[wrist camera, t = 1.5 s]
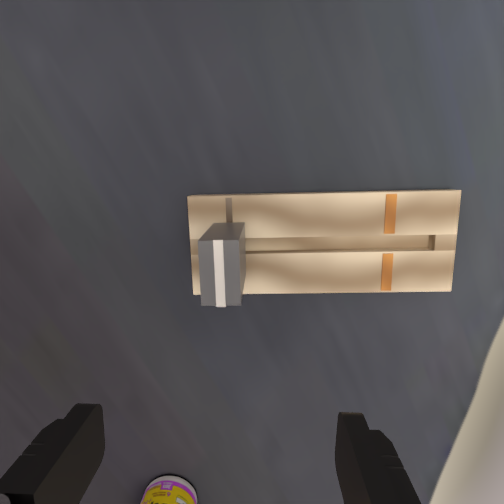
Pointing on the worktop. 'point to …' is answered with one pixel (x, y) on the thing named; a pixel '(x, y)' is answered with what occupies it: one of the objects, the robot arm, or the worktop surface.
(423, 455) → the worktop surface
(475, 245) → the worktop surface
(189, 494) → the supplement bottle
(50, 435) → the robot arm
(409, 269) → the fader board
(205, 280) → the fader knob
